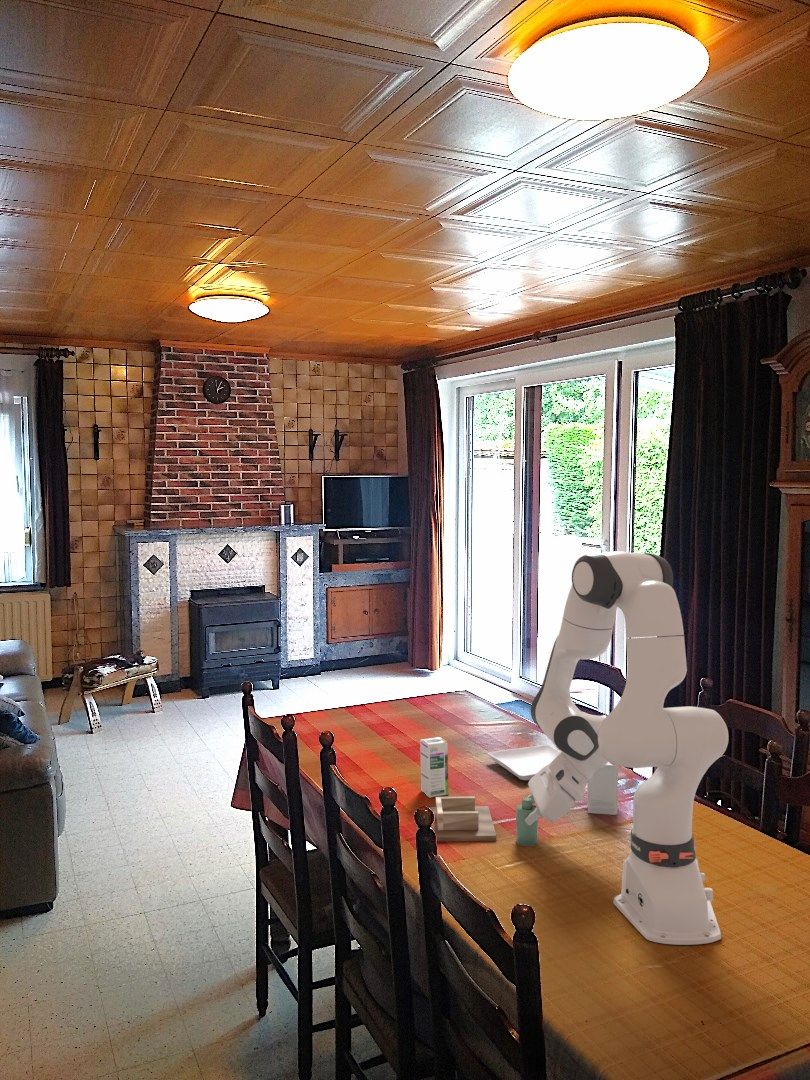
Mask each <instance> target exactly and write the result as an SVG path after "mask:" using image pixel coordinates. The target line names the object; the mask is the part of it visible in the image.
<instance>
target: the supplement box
mask: <svg viewBox="0 0 810 1080" xmlns="http://www.w3.org/2000/svg"><path fill="white" fill-rule="evenodd" d="M618 774H619V766H615V765H612V764H610V763H609V762H608V763H607V764H606V765H605V766H604V767H602V768H601V769H599V770H597V771H596V772H595V773H594V775H593V776H592V778H591V780H590V781H589V782H588V783H587V800H586V801H587V804H586V805H587V813H588V814H596V815H597V814H598V815H612V816H617V815H618V810H619V809H618V805H619V804H618V798H619V796H618V795H619V793H618V791H619V790H618V787H619V785H618V784H619V781H618V780H619V778H618V777H619V775H618Z"/></svg>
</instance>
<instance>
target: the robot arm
mask: <svg viewBox="0 0 810 1080" xmlns="http://www.w3.org/2000/svg"><path fill="white" fill-rule="evenodd" d="M673 584H674V573H673V569H672V567H671V565H670V563H669V562H668V560H666V558H664V557H662V556H661V555H658V554H654V553H649V552H645V553H640V552H639V553H638V552H630V551H629V552H628V551H624V550H619V551H606V552H600V551H595V552H591V553H586V554H584V555H582V556H580V557H579V558H578V559H577V560H576V561H575V563H574V565H573V568H572V572H571V587H570V589H569V592H568V595H567V598H566V602H565V605H564V610H563V615H562V620H561V625H560V629H559V632H558V633H559V634H558V635H557V637H556V638H555V641H554V643H553V646H552V649H551V652H550V656H549V660H548V663H547V667H546V669H545V675H544V678H543V682H542V685H541V687H540V688H539V690H538V692H537V693H536V695H535V697H533V700H532V702H531V706H530V716H531V719H532V722H533V723H534V725H536V726H537V727H538V728H539V729H540V730H541V731H542V732H543V733H544V734H545V736H546V737H547V739H548V740H549V741H550V742H551V743H552V744H553V745H554V746H555V748H556V749H557V750H559V751H561V753H560V754H559V755H558V756H557V757H556V758H555V759H554V760H553V761H552V762H551V763H550V764H549V765H546V766H545V767H543V768H542V769H541V770H540V771H539V772H538V773H537V774H535V775H534V776H533V777H532V778H531V779H530V780H528V782H527V785H528V788H529V790H530V793H529V794H528V796H527V797H526V798H531V799H532V805H535V804H536V806H537V807H536V808H535V809H534V811H533V812H532V813H530V814H529V813H528V814H527V815H526V816H525V817H524V820H525V822H526V823H527V824H528V825H532V824H533V823H534V822H535V821H536V820H538V821H539V820H540V819H542V818H544V819H545V820H546V821H547V822H549V823H550V824H553V823H555V822H557V821H558V820H560V819H561V817H563V816H564V815H565V814H566V813H567V812H568V811H569V810H570V809H571V808H572V807H573V806H574V805H575V803H576V802H577V803H579V802H581V801H582V800H583V799H584V797H585V791H586V787H587V785H588V782H589V781H590V780H591V778H592V776H593V775H594V773H595V772H596V771H597V770H599V769H601V768H602V767H604V766H605V765H606V764H607V763H608V762H609V763H610V764H612V765H615V766H618V767H622V768H632V769H641V768H653V767H655V768H656V769H655V771H654V772H653V774H652V775H651V776H650V777H648V778H647V779H646V780H645V781H643V782H642V783H640V784H639V785H638V786H637V788H636V790H635V791H634V794H633V800H632V802H633V804H632V806H633V807H632V808H633V809H632V814H633V815H632V820H633V821H632V823H633V824H632V829H631V831H630V836H629V841H630V850H631V851H630V853H629V854H628V856H627V857H626V858H625V859H624V861H623V862H622V873H621V874H622V876H621V891H620V892H621V893H620V894H616V895H615V896H614V897H613V905H614V906H615V907H616V908H617V909H618V911H620V912H621V914H622V915H623V916H624V917H625V918H626V919H627V920H628V921H629V922H630V923H631V924H632V926H634V928H635V929H636V930H637V931H638V932H639V933H640V934H641V935H642V937H644V938H645V940H648V941H650V942H653V943H657V944H658V943H659V944H664V945H675V946H676V945H679V946H680V945H681V946H683V945H685V946H689V945H692V946H693V945H703V944H711V943H714V942H718V941H719V940H721V939H722V933H721V929H720V927H719V923H718V920H717V917H716V914H715V912H714V908H713V905H712V902H713V901H714V890H713V888H712V887H704V886H705V885H704V882H703V881H706V874H705V873H704V872H700V871H701V870H700V867H699V860H698V858H697V856H696V855H697V854H696V843H695V837H694V834H692V832H693V831H692V829H693V811H694V802H695V801H694V800H695V796H696V792H697V789H698V788H699V785H700V783H701V780H702V779H703V777H704V775H705V774H706V772H707V771H708V769H709V768H710V767H711V765H713V764H714V763H715V762H716V761H717V760H718V759H719V758H721V757H722V756H723V755H724V753H725V752H726V750H727V748H728V744H729V730H728V726H727V724H726V722H725V720H724V719H723V718H722V716H721V715H720V713H718V712H717V711H716V710H715V709H711V708H706V707H700V706H689V705H688V706H673V707H664V703H665V699H666V697H667V695H668V693H669V692H670V691H671V690H672V689H674V688H675V687H677V686H679V685H680V684H681V683H682V682H683V681H684V679H685V678H686V675H687V671H688V666H687V656H686V654H687V653H686V644H685V634H684V623H683V618H682V612H681V608H680V604H679V601H678V597H677V594H676V591H675V589H674V588H673V586H674V585H673ZM618 608H619V609H620V610H621V611H622V613H623V616H624V622H625V642H626V656H627V657H626V660H627V661H626V662H627V664H626V666H627V667H626V668H627V669H626V670H627V672H626V674H627V675H626V682H625V687H624V690H623V692H622V695H621V697H620V699H619V700H618V703H617V704H616V706H615V707H614V709H612V711H611V712H610V713H609V714H607V715H606V714H602V715H595V714H590V713H587V712H584V711H582V710H580V709H579V708H578V707H577V705H576V704H575V703H574V702H573V700H572V697H571V694H570V688H571V685H572V684H571V683H572V681H573V678H574V673H575V671H576V667H577V664H578V662H579V661H580V660H592V659H596V658H598V657H600V656H602V655H603V654H604V653H606V651H607V649H608V648H609V645H610V643H611V639H612V635H613V631H614V627H615V626H614V625H615V619H616V614H617V609H618Z"/></svg>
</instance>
